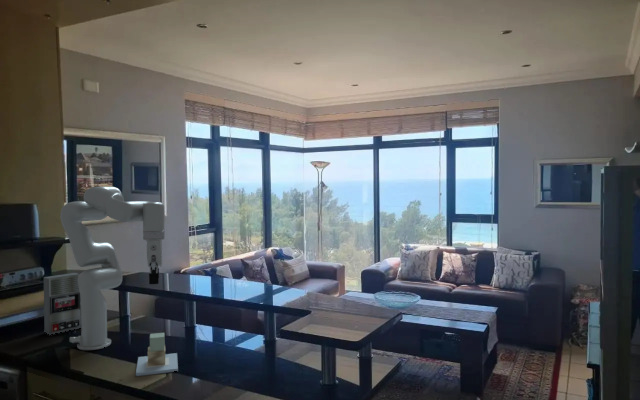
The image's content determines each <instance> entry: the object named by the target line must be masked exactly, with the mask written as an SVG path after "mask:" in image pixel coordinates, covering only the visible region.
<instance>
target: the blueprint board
mask: <svg viewBox="0 0 640 400" xmlns="http://www.w3.org/2000/svg"><path fill="white" fill-rule="evenodd" d="M178 362H179V361H178V352H176V353H165V365H156V366H148V355H145V356H137V362H136V370H135V376H136V377H140V376H150V375H159V374H166V373H168V374H169V373H175V372H174V371H177V372H179V366H178V365H179V363H178Z"/></svg>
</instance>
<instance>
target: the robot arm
mask: <svg viewBox="0 0 640 400" xmlns="http://www.w3.org/2000/svg"><path fill="white" fill-rule="evenodd" d="M59 216H60V223H61V224H62V228H63V230H64V231H65V233H66V235H67V237H68V239H69V243H70V247H71V250H72V253H73V257H74V259H75V263H76V265H78V266H79V267H80V268H89V267H94V268H91V269H90V268H89V269H86V270H84V271H82V272H81V273H79V274H80V275H79V277H78V287H79V291H80V298H81V330H80V333H81V335H78V336H70V337H69V343H71V344H75V343H76V346H77V349H79V350H80V351H95V350H96V351H97V350H100V349H105V348H107V347H109V346H110V345H111V344H112V339H111V338H108V324H107V323H108V312H107V311H108V310H107V307H108V305H107V300H106V297H105V296H104V294H103V293H102V291H105V290H110V289H114V288H118V287H119V286H120V285H121V284H122V282H123V272H122V268H121V265H120V262H119V258H118V255H117V252H116V249H115V247H114V246H113V245H112V244H111V243H110V242H107V241H100V242H96V241H94V237H93V235H92V231H91V230H90V229H89V228H88V227H87V226H86V225H85V224H83V222H93V221H102V220H104V219H106V218H107V217H109V218H110V219H113V220H115V221H119V222H120V223H121V222H122V223H130V222H142V240H143V241H146V260H147V267H148V268H149V272H148V282H149V283H148V284H149V285H158V284H159V280H160V268H161V267H163V266H162V265H163V244H162V243H163V240H165V205H164V203H163V202H161V201H159V202H158V201H148V200H134V201H133V200H132V201H131V200H129V201H125V197H124V196H123V194H122V191H121V190H120V189H119V188H118V187H115V186H91V187H89V188H87V189H86V190H85V192H84V194H83V200H77V201H76V200H75V201H71V202H67V203H66V204H64V205H63V206H62V207H61V210H60V215H59ZM95 266H101V267H95ZM104 347H105V348H104Z"/></svg>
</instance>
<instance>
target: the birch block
mask: <svg viewBox="0 0 640 400" xmlns="http://www.w3.org/2000/svg"><path fill="white" fill-rule="evenodd" d="M165 354H166V349H165V350H164V351H154V352H150V346H148V347H147V356H148V366H156V365H165Z"/></svg>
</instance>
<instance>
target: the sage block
mask: <svg viewBox="0 0 640 400" xmlns="http://www.w3.org/2000/svg"><path fill="white" fill-rule="evenodd" d="M165 339H166V338H165V332H156V333H150V334H149V347H150V352H154V351H164V350H165V351H166V344H165V343H166V341H165Z"/></svg>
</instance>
